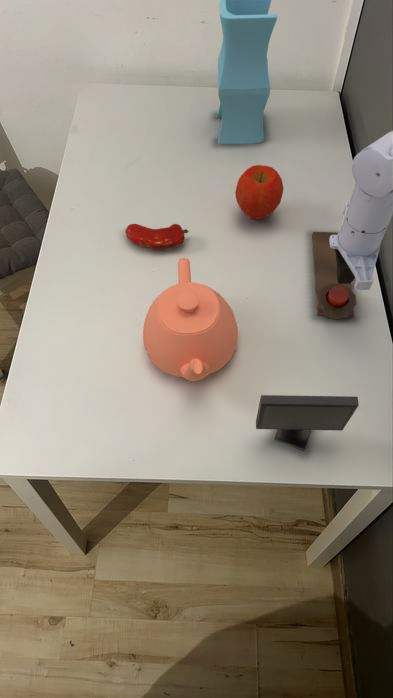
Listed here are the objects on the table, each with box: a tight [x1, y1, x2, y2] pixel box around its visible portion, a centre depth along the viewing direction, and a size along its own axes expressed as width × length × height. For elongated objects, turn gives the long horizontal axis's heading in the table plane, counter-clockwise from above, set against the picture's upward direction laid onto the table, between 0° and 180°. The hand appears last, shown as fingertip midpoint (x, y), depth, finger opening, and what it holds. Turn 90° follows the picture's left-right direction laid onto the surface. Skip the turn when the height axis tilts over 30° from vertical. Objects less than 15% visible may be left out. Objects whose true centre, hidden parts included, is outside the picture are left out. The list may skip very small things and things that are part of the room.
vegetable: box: [124, 223, 189, 250], centre depth 92 cm, size 4×5×12 cm
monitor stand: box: [274, 429, 312, 452], centre depth 71 cm, size 5×5×7 cm
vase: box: [217, 0, 278, 145], centre depth 97 cm, size 10×10×25 cm
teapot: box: [142, 257, 239, 382], centre depth 77 cm, size 22×15×12 cm
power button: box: [327, 286, 349, 307], centre depth 82 cm, size 3×3×2 cm
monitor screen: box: [255, 394, 360, 432], centre depth 66 cm, size 1×12×9 cm, turn 89°
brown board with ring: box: [311, 231, 357, 320], centre depth 87 cm, size 19×6×2 cm, turn 176°
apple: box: [234, 164, 284, 221], centre depth 91 cm, size 9×8×11 cm
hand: (344, 280), depth 79 cm, fingers closed
